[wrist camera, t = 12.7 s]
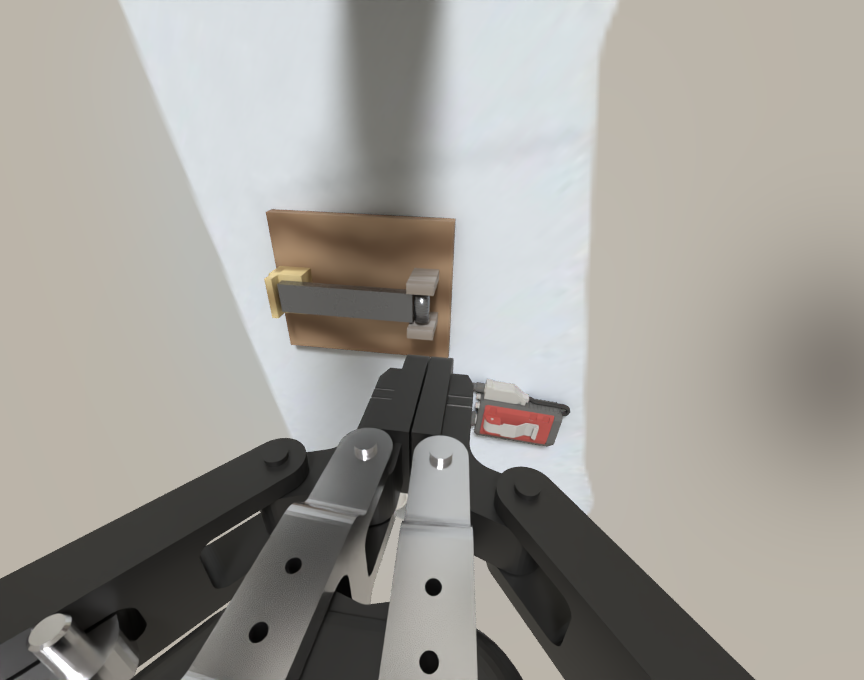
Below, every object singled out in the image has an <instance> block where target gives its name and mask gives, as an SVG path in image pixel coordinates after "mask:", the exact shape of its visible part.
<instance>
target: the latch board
mask: <svg viewBox="0 0 864 680" xmlns="http://www.w3.org/2000/svg"><path fill="white" fill-rule="evenodd" d="M266 216H267V221H268V226H269V232H270V237H271V242H272V247H273V253H274V258H275V263H276V269H275V270H273V271H272V272H271V273H269V276H268V277H266V278H265V279H264V280H265V284H266V289H267V294H268V299H269V303H270V308H271V313H272V318H280V317H281V316H282V315H283V314H284V313H285V316H286V321H287V326H288V331H289V337H290V342H291V345H301V346H312V347H323V348H334V349H345V350H356V351H367V352H379V353H390V354H401V355H408V354H410V355H421V356H430V357H431V356H433V357H444V358H448V355H449V342H450V321H451V300H452V279H453V258H454V238H455V219H450V218H430V217H411V216H392V215H372V214H353V213H333V212H314V211H295V210H275V209H272V210H269V211H267V212H266ZM282 280H285V281H298V282H312V283H325V284H339V285H352V286H365V287H379V288H392V289H406V294H414V295H428V296H430V320H429V322H427V323H417V322H415V321H414V320H413V323H409V322H397V321H385V320H373V319H361V318H349V317H337V316H326V315H314V314H302V313H290V312H282V307H281V302H280V297H279V292H278V287H277V284H278V283H279V282H280V281H282Z"/></svg>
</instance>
